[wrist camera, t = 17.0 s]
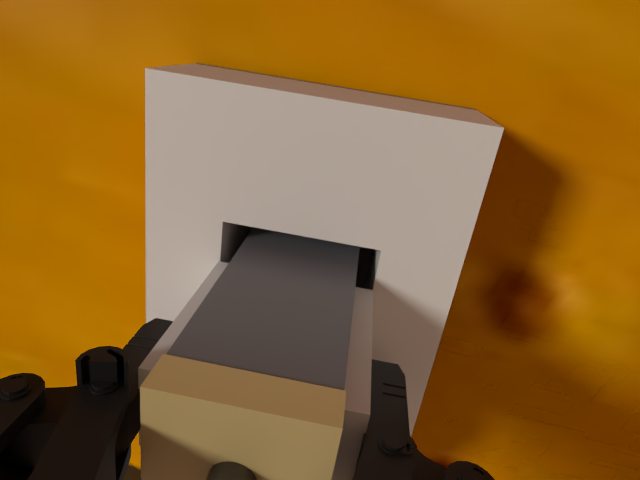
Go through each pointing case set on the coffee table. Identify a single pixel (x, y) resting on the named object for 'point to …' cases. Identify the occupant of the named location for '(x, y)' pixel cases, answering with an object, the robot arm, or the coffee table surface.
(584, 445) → the coffee table surface
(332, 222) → the socket
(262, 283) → the plug
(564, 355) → the coffee table surface
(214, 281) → the robot arm
